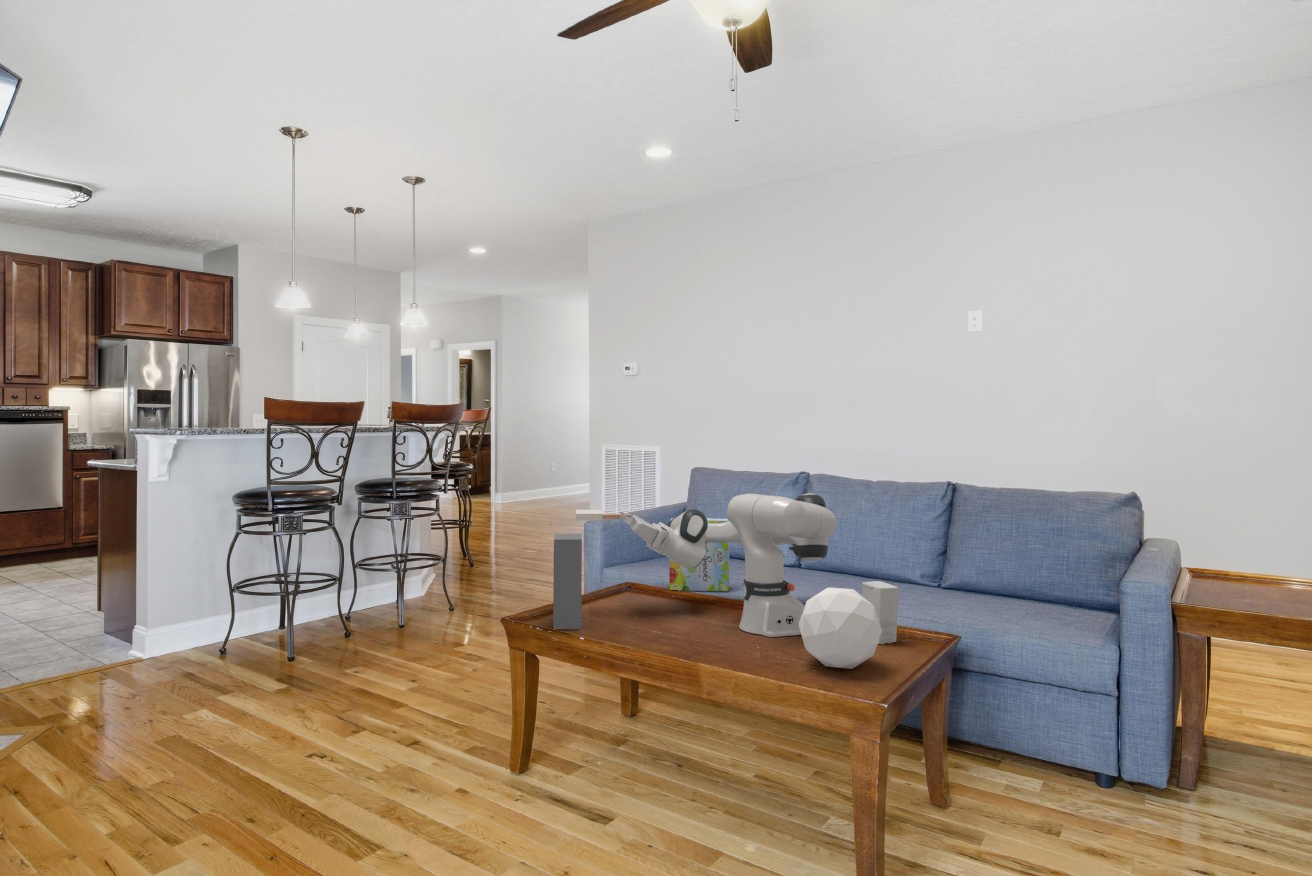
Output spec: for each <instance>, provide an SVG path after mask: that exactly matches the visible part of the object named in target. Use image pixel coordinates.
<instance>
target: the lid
mask: <svg viewBox="0 0 1312 876" xmlns="http://www.w3.org/2000/svg"><path fill="white" fill-rule="evenodd" d="M624 515H626V516H628V517H630V518H631V517H632V515H631V513H625V514H624ZM620 516H621V514H619V513H603V512H602V510H601V509H576V510H575V521H603V520H611V519H613V520H621V519H620Z"/></svg>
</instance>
